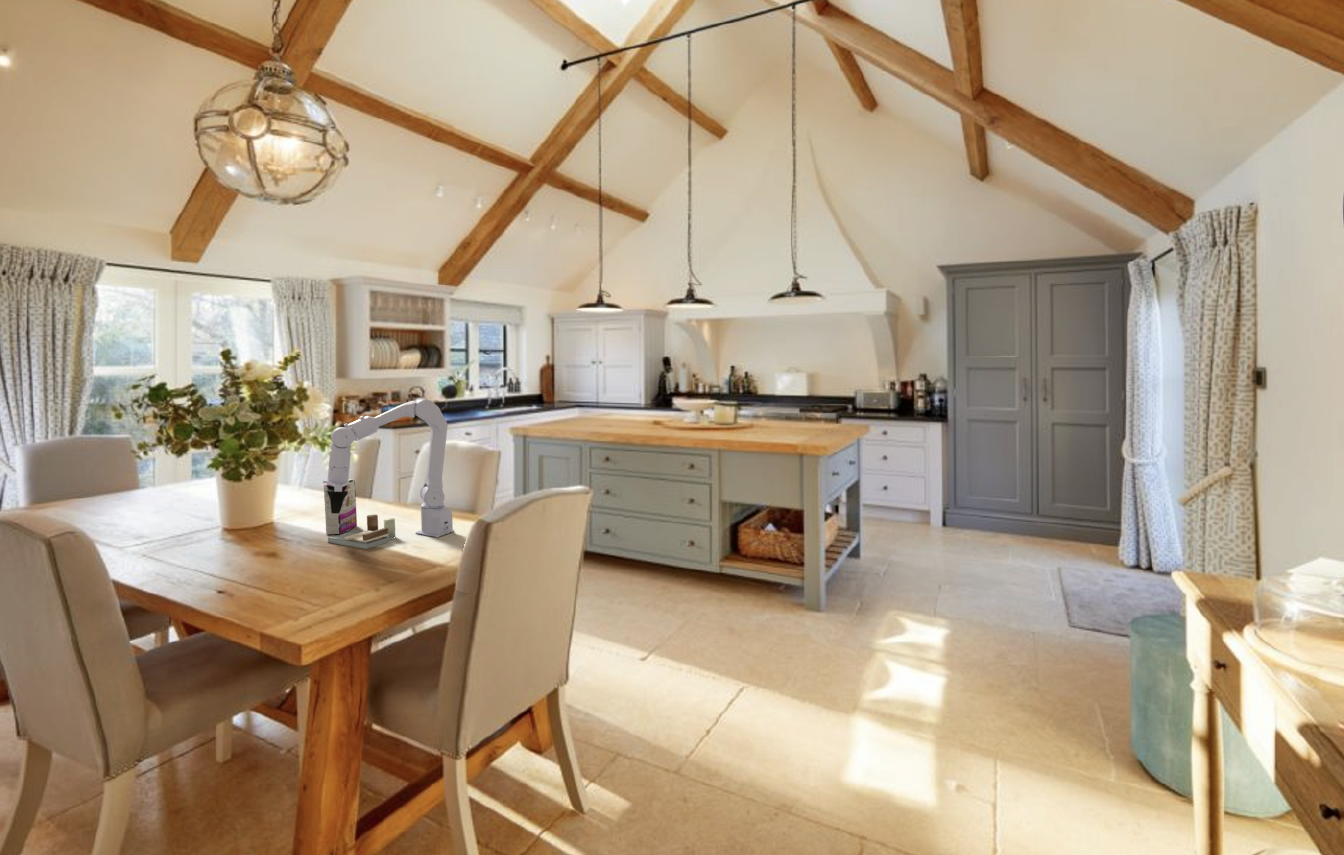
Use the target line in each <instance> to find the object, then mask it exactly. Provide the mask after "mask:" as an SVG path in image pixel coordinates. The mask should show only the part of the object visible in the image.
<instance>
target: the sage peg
mask: <svg viewBox="0 0 1344 855" xmlns="http://www.w3.org/2000/svg"><path fill="white" fill-rule="evenodd" d="M383 528H388V536H389V540H391V539H390V538H393V539H395V538H396V519H395V518H393V517H390V518H389V517H387V518H384V519H383ZM394 537H395V538H394Z"/></svg>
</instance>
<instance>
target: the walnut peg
mask: <svg viewBox="0 0 1344 855" xmlns="http://www.w3.org/2000/svg"><path fill="white" fill-rule="evenodd" d="M378 518H379V517H378V514H369V515H367V516H366V526H367V527H366V529H367V530H366V531H368V530H369V531H376V530H379V519H378Z"/></svg>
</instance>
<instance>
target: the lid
mask: <svg viewBox="0 0 1344 855" xmlns="http://www.w3.org/2000/svg"><path fill="white" fill-rule="evenodd" d="M360 532H361V533H358V534H354V535H351V536H347V537H345V539H348V540H353V541H359V542H365V543H366V542H369V541H372V540H375V539H378V538H382V537H385V536H388V528H384V527H383V528H378V530H376V531H369V530H368V531H367V530H365V531H360Z"/></svg>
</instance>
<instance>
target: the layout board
mask: <svg viewBox="0 0 1344 855" xmlns="http://www.w3.org/2000/svg"><path fill="white" fill-rule="evenodd" d="M361 532H362V531H359V530H352V529H351V530H349V532H344V533H343V534H341V535H335V536H328V537H327V543H329V542H330V544H336V545H342V546H347V547H353V548H359V549H363V550H366V549H370V548H373V547H377V546H379V545H383V544H385V543H389V542H390V539H389V536H385V537H382V538H378V539H375V540H372V541H369V542H366V543H365V542H359V541H353V540H348V539H345V537H347V536H351V535H354V534H358V533H361Z"/></svg>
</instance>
